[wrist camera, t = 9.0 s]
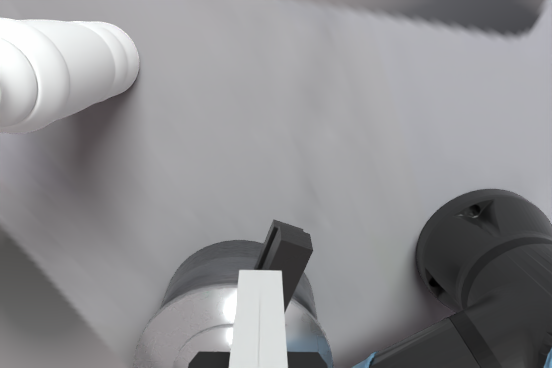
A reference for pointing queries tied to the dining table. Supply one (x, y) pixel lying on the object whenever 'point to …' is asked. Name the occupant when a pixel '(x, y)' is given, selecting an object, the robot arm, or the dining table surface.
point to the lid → (231, 313)
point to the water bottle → (59, 69)
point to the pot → (231, 267)
